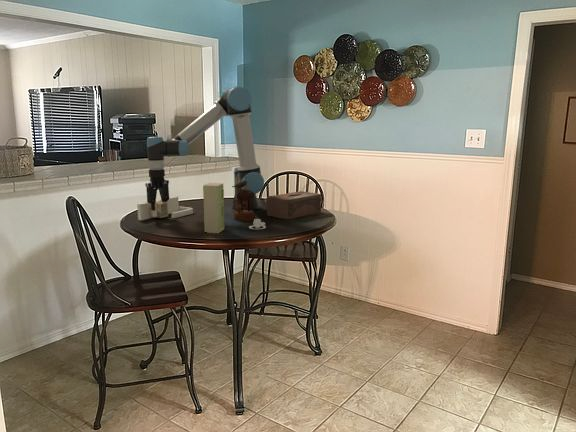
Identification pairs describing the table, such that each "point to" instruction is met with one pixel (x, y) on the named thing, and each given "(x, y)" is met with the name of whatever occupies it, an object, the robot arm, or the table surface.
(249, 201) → the brown upright irregular piece
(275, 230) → the table surface
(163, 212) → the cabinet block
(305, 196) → the tissue box cover
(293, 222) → the table surface
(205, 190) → the pale green tall block
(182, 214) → the wall board
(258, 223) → the teacup and saucer
